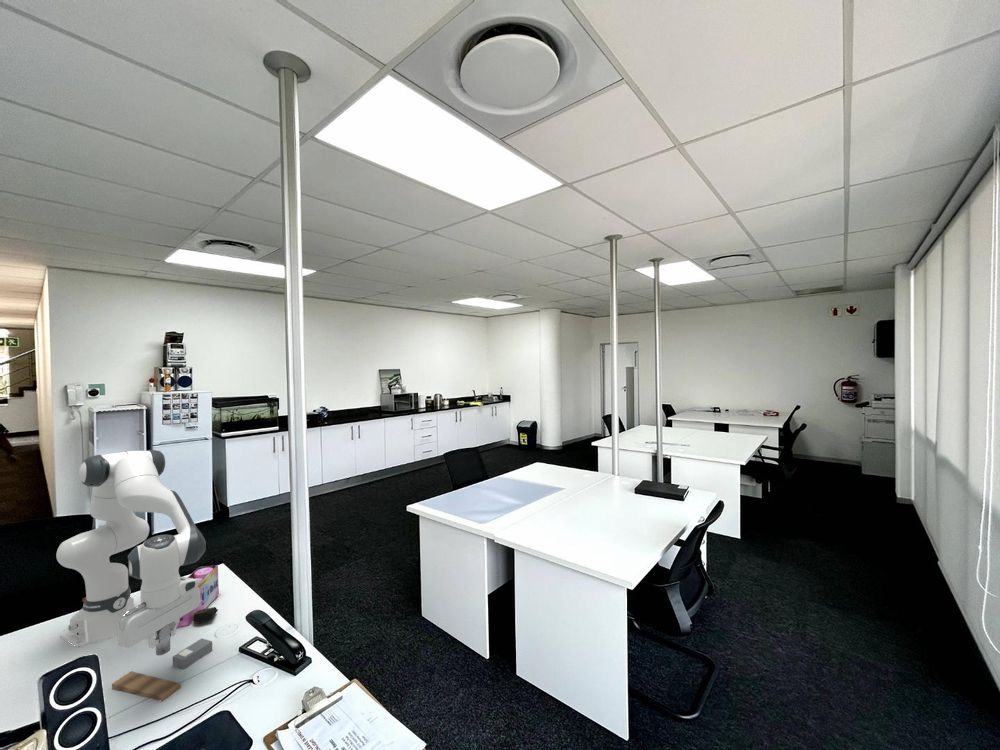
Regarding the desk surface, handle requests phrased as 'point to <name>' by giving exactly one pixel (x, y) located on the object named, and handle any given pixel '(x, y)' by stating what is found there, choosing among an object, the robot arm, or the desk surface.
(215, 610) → the tape measure
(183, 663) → the block
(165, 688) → the strip
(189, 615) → the gum box
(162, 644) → the grey metal cylinder
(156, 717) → the desk surface
